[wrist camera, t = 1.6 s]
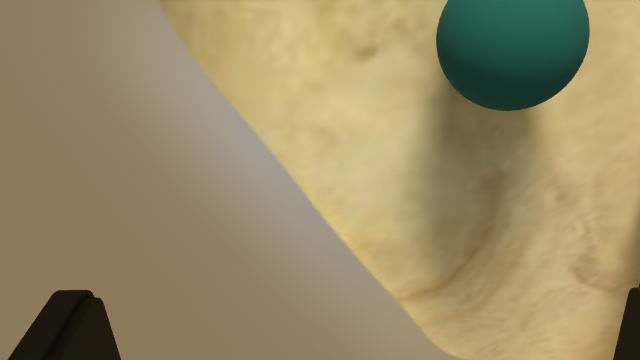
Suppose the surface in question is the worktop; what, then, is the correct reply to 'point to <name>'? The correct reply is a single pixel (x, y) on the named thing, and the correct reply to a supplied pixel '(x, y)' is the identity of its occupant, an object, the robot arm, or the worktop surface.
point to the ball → (511, 49)
